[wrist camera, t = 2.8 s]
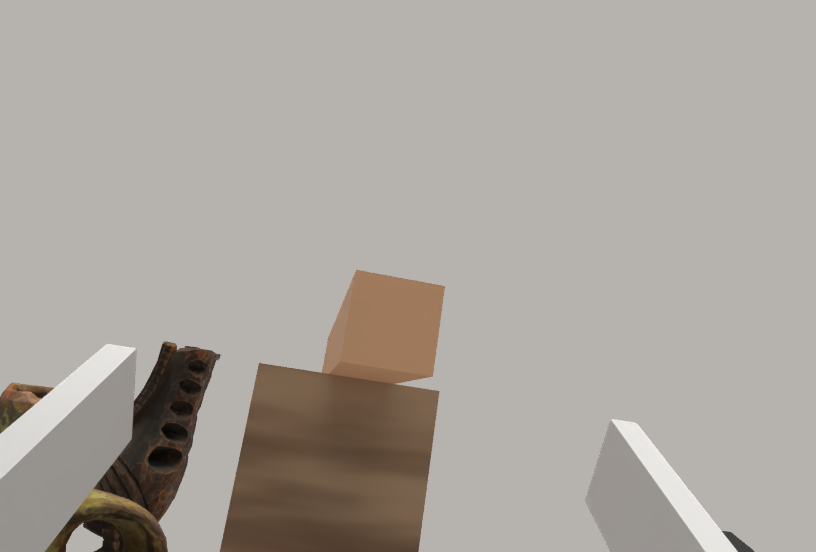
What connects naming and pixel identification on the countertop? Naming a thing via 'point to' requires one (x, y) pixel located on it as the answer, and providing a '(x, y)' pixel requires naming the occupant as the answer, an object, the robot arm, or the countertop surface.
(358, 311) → the bar
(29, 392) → the ceramic vessel
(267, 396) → the walnut stand
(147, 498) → the statue
